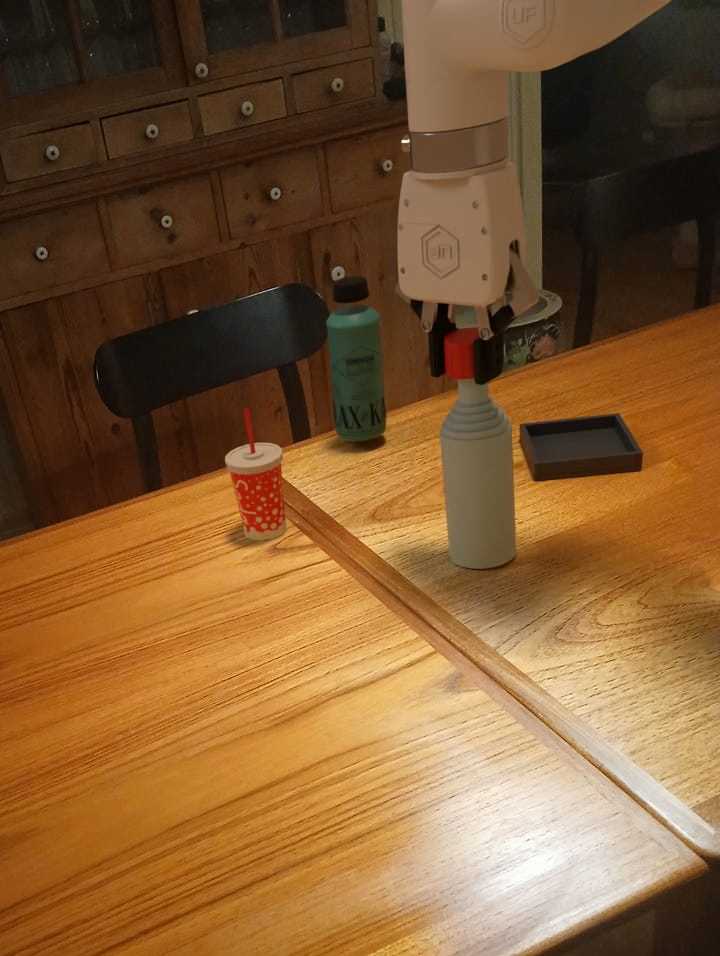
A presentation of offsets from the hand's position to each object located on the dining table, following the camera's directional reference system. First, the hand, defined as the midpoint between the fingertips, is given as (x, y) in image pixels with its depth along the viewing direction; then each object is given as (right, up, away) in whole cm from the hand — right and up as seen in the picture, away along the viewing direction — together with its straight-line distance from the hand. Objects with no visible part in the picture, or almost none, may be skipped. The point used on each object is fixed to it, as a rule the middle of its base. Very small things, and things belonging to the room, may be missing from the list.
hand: (466, 373), depth 87 cm
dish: (+18, -3, +24) cm, 31 cm away
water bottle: (+4, -15, +10) cm, 18 cm away
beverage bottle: (-5, +1, +36) cm, 37 cm away
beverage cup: (-17, -12, +21) cm, 30 cm away
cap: (0, 0, 0) cm, 0 cm away
